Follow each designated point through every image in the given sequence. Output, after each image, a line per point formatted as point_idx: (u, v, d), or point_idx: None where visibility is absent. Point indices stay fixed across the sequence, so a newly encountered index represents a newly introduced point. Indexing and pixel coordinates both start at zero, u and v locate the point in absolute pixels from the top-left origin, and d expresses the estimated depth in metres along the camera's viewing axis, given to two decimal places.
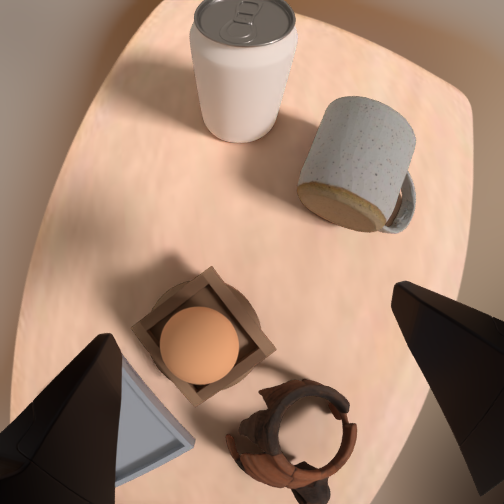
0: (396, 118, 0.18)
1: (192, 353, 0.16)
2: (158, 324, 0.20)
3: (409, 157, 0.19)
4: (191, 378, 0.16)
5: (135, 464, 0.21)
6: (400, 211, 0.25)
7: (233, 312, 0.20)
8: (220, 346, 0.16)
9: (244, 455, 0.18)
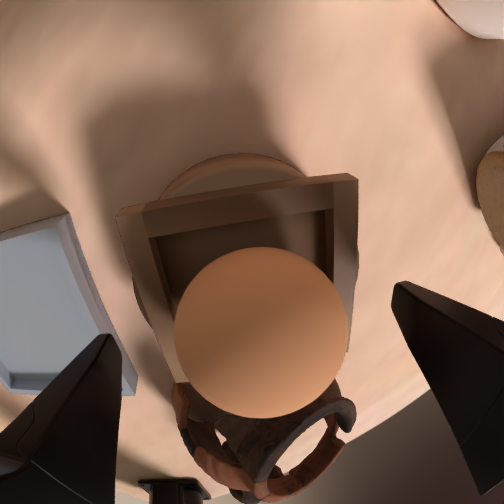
0: None
1: (277, 397, 0.06)
2: None
3: None
4: (230, 412, 0.07)
5: (43, 375, 0.15)
6: None
7: (337, 278, 0.10)
8: (326, 386, 0.07)
9: (207, 455, 0.12)
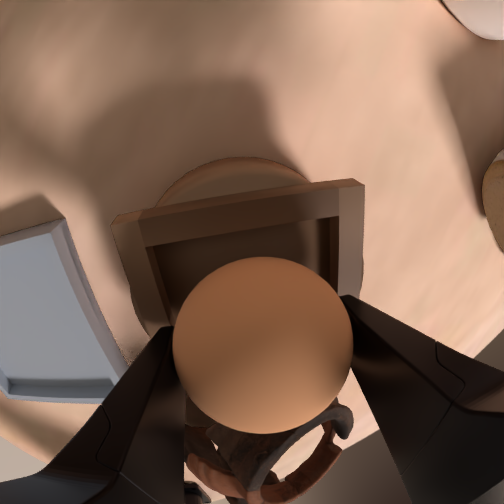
0: None
1: (280, 415, 0.06)
2: None
3: None
4: (231, 427, 0.07)
5: (41, 381, 0.14)
6: None
7: (341, 288, 0.10)
8: (331, 401, 0.07)
9: (199, 462, 0.12)
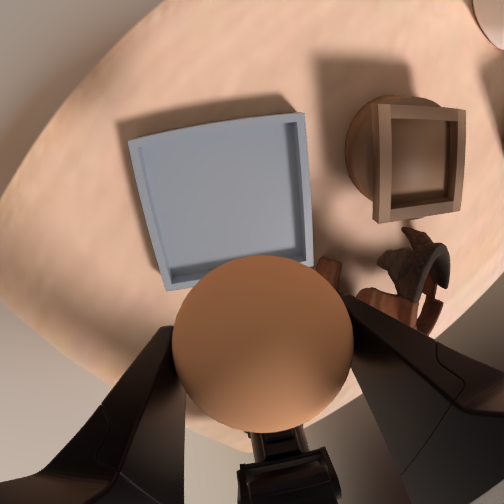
0: None
1: (280, 414, 0.06)
2: (394, 119, 0.15)
3: None
4: None
5: (216, 264, 0.21)
6: None
7: (458, 158, 0.16)
8: (331, 400, 0.07)
9: (372, 291, 0.18)
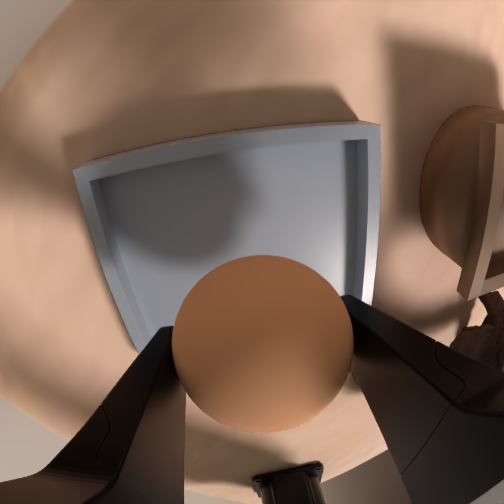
0: None
1: (280, 414, 0.06)
2: None
3: None
4: (231, 427, 0.07)
5: None
6: None
7: None
8: (331, 400, 0.07)
9: None
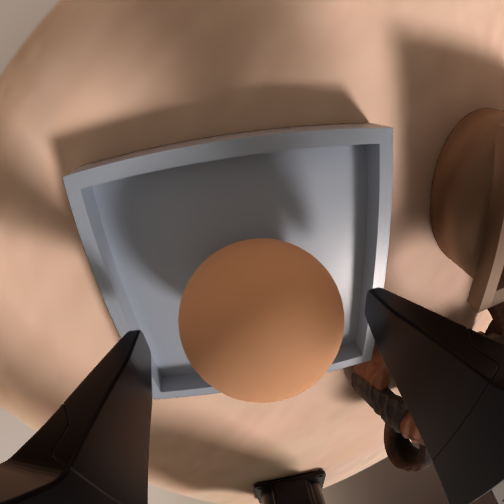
0: None
1: (283, 378, 0.07)
2: None
3: None
4: (236, 398, 0.08)
5: None
6: None
7: None
8: (327, 367, 0.08)
9: None
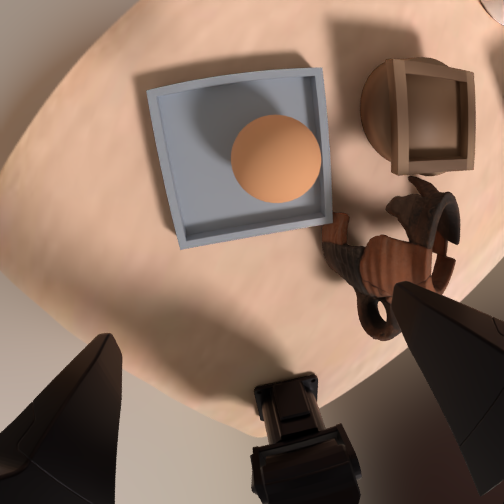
0: None
1: (310, 160, 0.14)
2: (408, 76, 0.14)
3: None
4: (287, 188, 0.15)
5: (232, 220, 0.20)
6: None
7: (469, 117, 0.15)
8: (320, 166, 0.16)
9: (383, 238, 0.17)
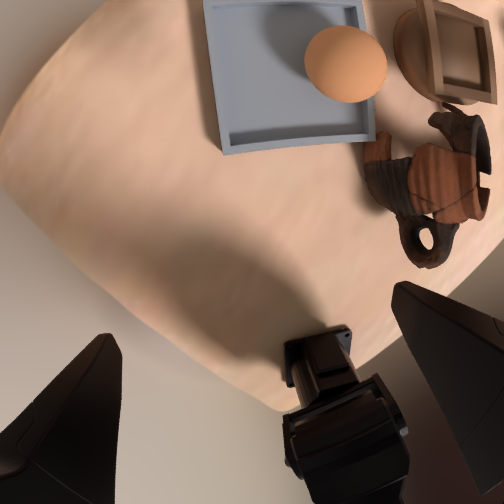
0: None
1: (386, 61, 0.14)
2: (435, 14, 0.13)
3: None
4: (378, 79, 0.13)
5: (278, 131, 0.18)
6: None
7: (489, 56, 0.14)
8: None
9: (429, 145, 0.15)
